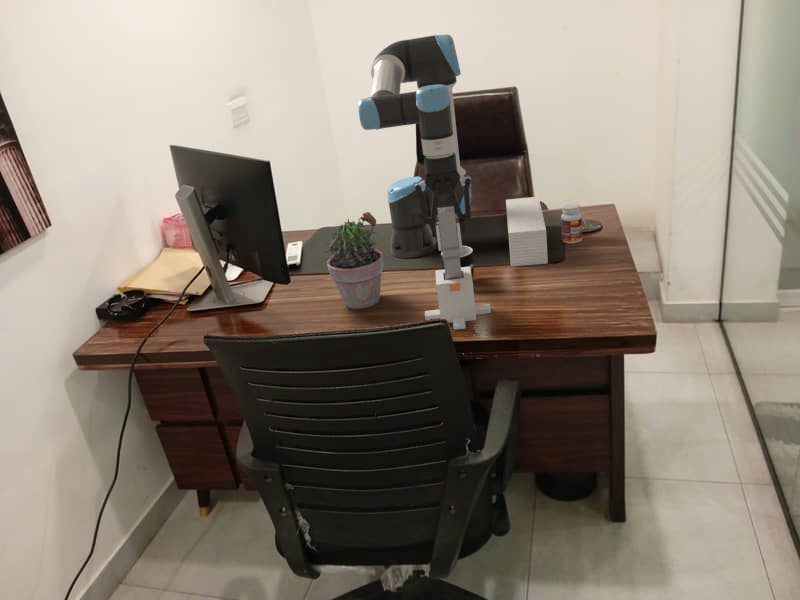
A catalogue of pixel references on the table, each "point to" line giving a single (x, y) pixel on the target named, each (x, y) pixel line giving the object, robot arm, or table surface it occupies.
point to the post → (449, 243)
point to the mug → (465, 258)
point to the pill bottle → (571, 223)
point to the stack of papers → (526, 232)
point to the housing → (456, 300)
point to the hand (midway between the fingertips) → (450, 247)
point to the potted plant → (356, 264)
